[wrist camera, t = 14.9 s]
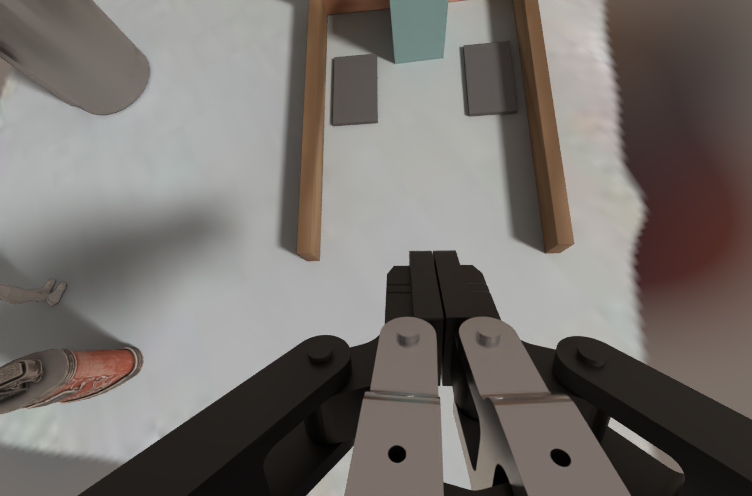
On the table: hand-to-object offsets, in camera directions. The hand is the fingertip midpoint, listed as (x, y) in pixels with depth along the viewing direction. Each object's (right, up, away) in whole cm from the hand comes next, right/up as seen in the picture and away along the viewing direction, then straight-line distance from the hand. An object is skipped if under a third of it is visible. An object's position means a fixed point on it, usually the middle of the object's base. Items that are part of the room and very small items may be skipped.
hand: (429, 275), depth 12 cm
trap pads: (+3, +18, +25) cm, 31 cm away
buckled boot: (-27, -11, +21) cm, 36 cm away
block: (+3, +23, +26) cm, 35 cm away
